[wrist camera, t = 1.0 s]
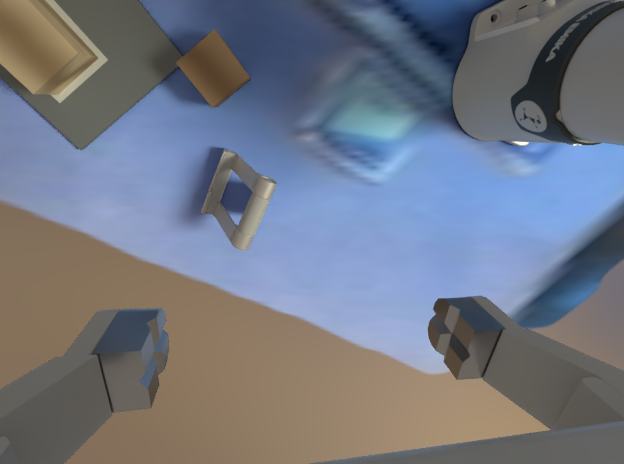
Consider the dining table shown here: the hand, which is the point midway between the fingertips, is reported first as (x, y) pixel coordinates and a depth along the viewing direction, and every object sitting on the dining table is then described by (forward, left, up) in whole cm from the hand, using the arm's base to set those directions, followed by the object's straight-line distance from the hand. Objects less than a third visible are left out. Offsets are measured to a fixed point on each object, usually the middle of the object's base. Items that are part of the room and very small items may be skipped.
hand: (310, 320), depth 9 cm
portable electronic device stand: (+6, +2, -33) cm, 34 cm away
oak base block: (+11, -21, -32) cm, 40 cm away
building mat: (+9, -20, -33) cm, 40 cm away
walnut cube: (-1, -10, -33) cm, 35 cm away
